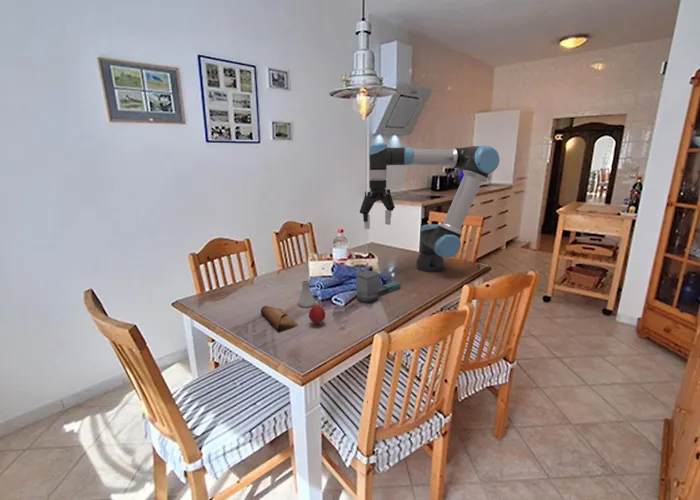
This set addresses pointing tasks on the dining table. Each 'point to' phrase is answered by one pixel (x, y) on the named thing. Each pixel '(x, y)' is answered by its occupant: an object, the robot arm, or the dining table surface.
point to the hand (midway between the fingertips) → (377, 226)
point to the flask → (306, 295)
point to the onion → (317, 314)
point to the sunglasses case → (278, 318)
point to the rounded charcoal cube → (367, 283)
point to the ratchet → (382, 290)
